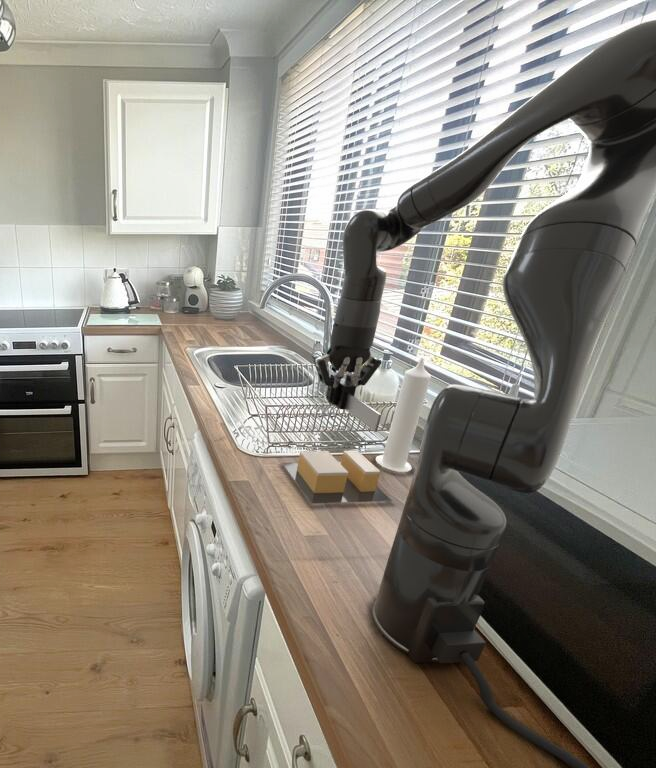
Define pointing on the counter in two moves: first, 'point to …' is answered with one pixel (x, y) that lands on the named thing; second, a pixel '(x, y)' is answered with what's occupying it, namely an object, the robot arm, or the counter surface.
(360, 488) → the slice
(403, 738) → the counter surface
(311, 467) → the tan rectangular block
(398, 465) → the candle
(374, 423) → the knife
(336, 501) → the board
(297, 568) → the counter surface
